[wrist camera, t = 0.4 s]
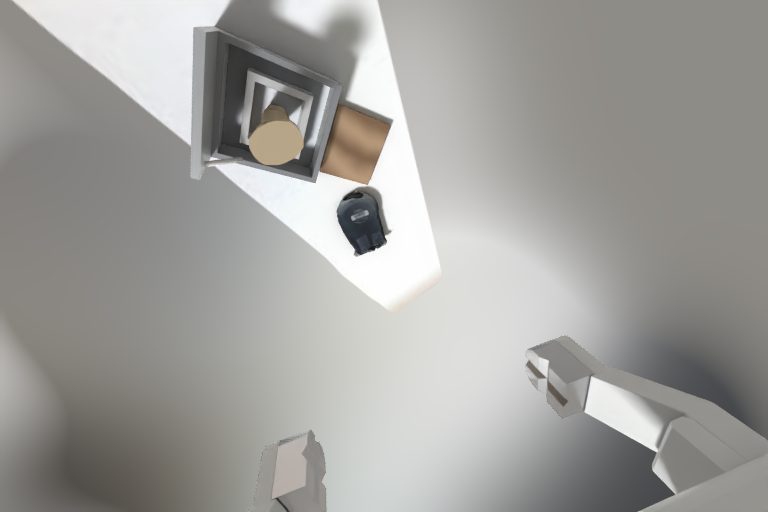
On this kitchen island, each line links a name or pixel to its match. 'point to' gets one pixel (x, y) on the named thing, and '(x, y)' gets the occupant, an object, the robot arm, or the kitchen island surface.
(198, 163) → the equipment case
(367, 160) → the walnut pad
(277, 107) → the handle
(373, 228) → the electronic device
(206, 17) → the kitchen island surface
